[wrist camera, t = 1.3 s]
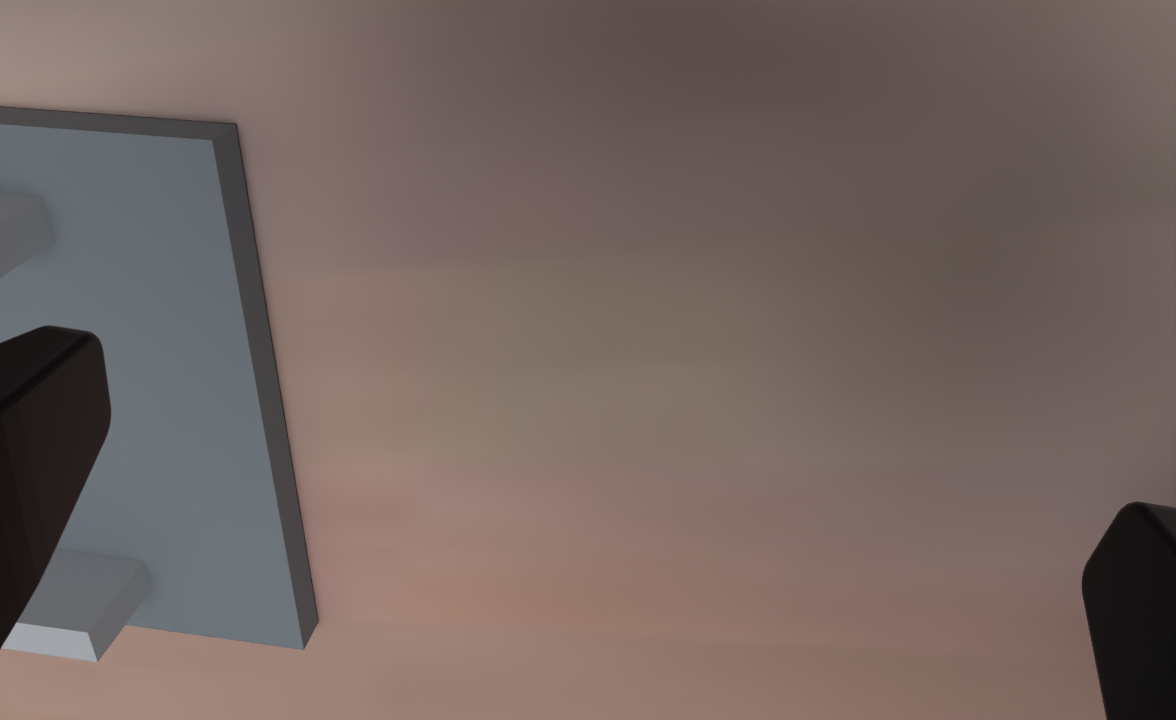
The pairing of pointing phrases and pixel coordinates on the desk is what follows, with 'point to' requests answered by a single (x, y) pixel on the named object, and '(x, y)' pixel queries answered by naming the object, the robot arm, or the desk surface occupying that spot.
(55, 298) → the gray square tray
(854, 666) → the desk surface
